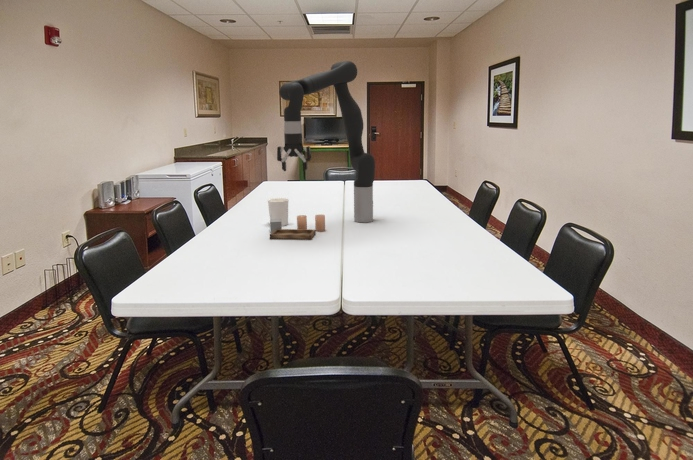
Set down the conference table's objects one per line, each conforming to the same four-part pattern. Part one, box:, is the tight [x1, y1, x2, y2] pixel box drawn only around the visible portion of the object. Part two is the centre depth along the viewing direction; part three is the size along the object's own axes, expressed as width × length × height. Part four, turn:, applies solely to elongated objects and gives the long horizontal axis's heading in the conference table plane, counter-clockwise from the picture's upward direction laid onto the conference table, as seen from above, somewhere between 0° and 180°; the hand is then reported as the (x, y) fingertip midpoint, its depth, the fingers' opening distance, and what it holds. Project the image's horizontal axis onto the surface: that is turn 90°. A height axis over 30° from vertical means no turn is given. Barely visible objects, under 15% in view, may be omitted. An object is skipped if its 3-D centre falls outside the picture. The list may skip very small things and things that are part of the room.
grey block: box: [269, 219, 283, 234], centre depth 216 cm, size 5×5×5 cm
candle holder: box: [267, 197, 289, 227], centre depth 228 cm, size 10×10×12 cm
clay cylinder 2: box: [314, 214, 326, 233], centre depth 216 cm, size 4×4×7 cm
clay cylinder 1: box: [296, 214, 308, 230], centre depth 215 cm, size 4×4×7 cm
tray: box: [269, 228, 317, 241], centre depth 206 cm, size 18×10×2 cm, turn 83°
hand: (294, 171), depth 203 cm, fingers open, 8 cm apart
